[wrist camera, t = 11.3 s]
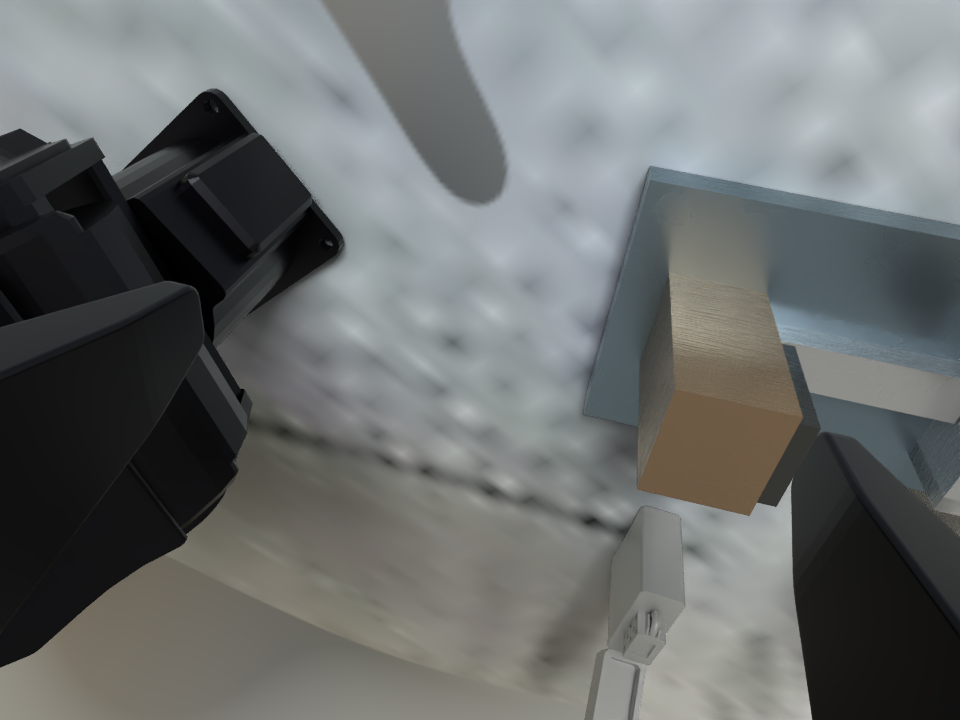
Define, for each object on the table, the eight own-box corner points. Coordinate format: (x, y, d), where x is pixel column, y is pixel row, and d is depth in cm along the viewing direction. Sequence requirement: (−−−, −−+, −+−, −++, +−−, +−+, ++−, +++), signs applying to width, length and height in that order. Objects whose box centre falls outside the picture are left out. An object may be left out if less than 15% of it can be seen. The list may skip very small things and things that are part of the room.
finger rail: (585, 394, 26) (567, 542, 20) (650, 166, 20) (650, 277, 15) (1074, 504, 24) (1210, 700, 18) (1284, 287, 19) (1569, 466, 13)
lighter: (642, 504, 28) (640, 685, 22) (682, 516, 28) (692, 701, 22) (590, 598, 33) (576, 773, 26) (624, 609, 32) (619, 787, 26)
